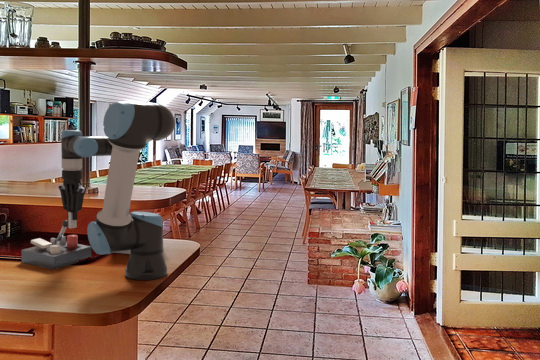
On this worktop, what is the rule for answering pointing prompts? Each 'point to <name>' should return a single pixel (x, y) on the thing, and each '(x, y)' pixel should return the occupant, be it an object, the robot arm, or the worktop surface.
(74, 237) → the button red
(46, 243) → the rocker
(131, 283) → the worktop surface
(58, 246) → the button ivory
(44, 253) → the console
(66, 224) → the lever
